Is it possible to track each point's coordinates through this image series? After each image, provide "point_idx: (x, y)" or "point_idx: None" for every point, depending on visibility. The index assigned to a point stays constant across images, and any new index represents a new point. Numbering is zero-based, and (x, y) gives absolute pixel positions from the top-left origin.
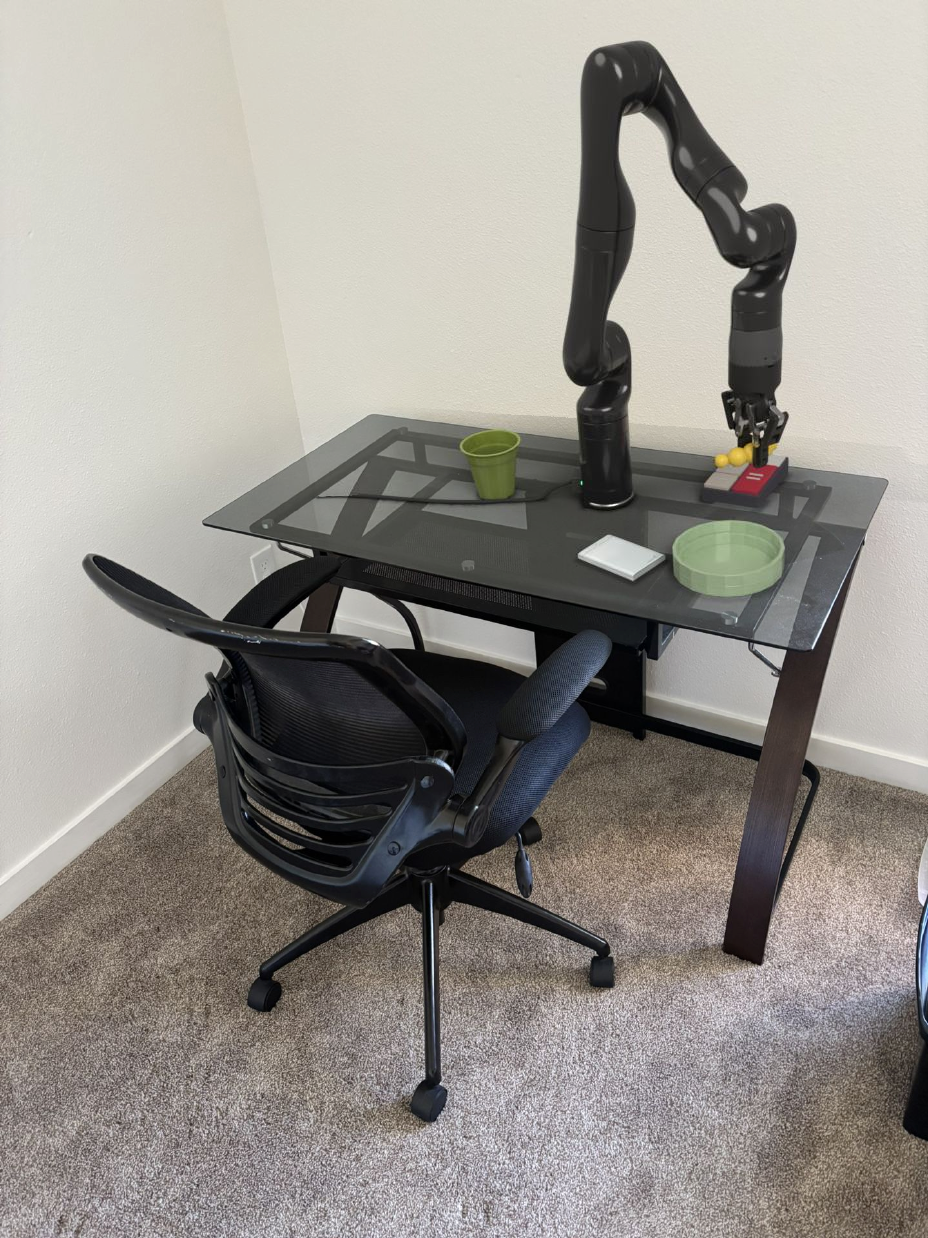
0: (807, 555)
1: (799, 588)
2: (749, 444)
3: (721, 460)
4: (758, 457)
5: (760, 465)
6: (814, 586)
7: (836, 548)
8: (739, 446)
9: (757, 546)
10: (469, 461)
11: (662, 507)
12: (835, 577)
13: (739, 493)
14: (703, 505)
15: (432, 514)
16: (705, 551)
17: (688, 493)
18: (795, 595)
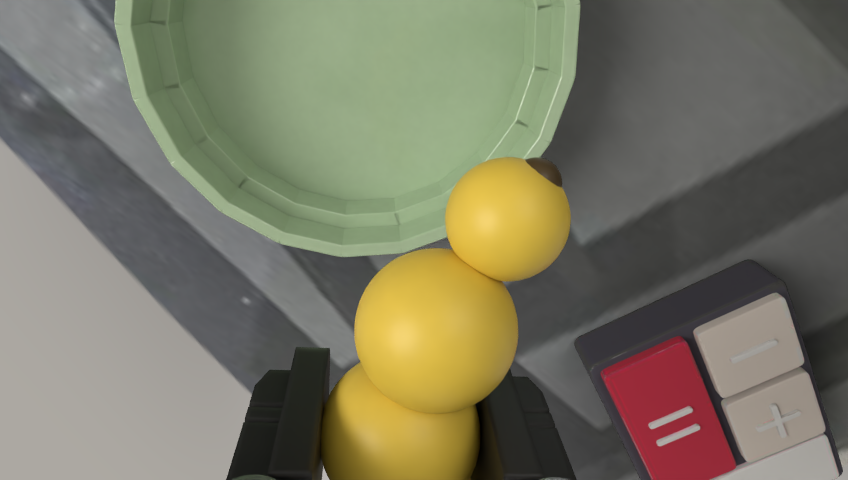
0: (281, 285)
1: (129, 149)
2: (414, 474)
3: (471, 197)
4: (276, 415)
5: (266, 378)
6: (117, 190)
7: (266, 361)
8: (505, 418)
9: (392, 200)
10: None
11: (836, 144)
12: (131, 266)
13: (650, 342)
14: (728, 249)
15: None
16: (497, 53)
17: (818, 261)
18: (97, 111)
